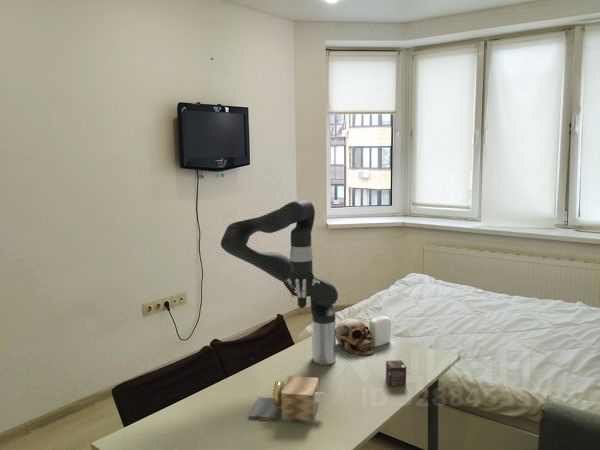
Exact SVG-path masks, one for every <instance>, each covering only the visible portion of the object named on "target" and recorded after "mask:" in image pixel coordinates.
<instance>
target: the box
mask: <svg viewBox="0 0 600 450" xmlns="http://www.w3.org/2000/svg"><path fill="white" fill-rule="evenodd" d="M385 380H386V382H387V384H388V386H389V387H390V388H391V387H392V388H394V387H406V386H407V366H406V365H405V363H404V362H403V361H402V360H400V359H399V360H397V359H396V360H386V361H385Z"/></svg>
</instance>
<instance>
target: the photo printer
mask: <svg viewBox="0 0 600 450" xmlns="http://www.w3.org/2000/svg"><path fill="white" fill-rule="evenodd" d="M368 324H369V325H368V326H369V327H368V328H369V331H370V334H371V335H372V337H373V339H371V340H370V342H371V345H372V348H377V347H379V346H382V345H386V344H389V343H391V319H390V317H388V316H385V315H382V316H377V317H375V318H373V319H371V320H370V321H369V323H368Z"/></svg>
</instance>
